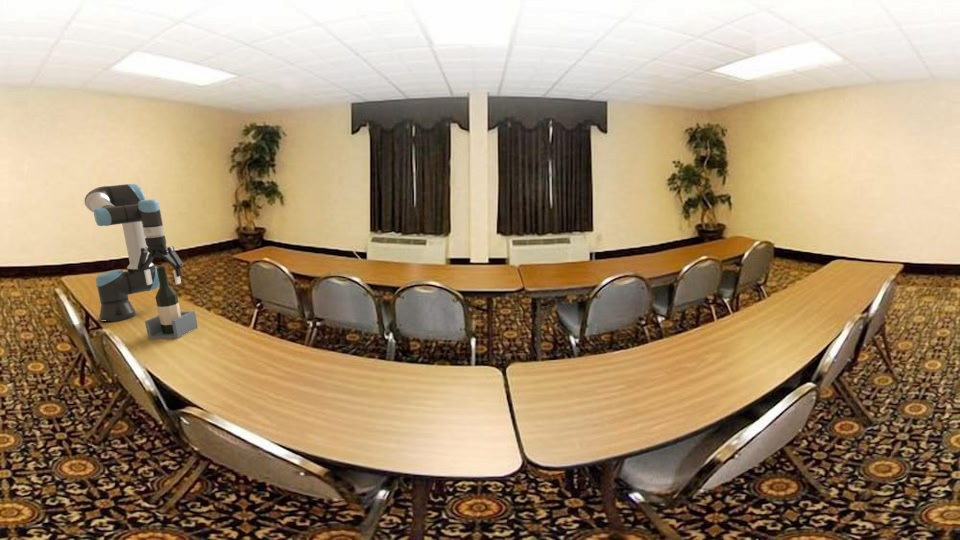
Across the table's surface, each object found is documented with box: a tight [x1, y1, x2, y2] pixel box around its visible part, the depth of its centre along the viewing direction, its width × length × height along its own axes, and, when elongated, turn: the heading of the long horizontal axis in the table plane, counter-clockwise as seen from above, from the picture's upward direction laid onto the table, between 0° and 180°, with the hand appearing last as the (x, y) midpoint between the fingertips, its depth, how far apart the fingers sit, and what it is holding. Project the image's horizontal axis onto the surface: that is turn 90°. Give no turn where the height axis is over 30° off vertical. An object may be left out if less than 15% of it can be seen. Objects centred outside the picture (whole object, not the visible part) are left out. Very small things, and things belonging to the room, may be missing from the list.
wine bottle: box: [155, 264, 181, 334], centre depth 241 cm, size 8×8×30 cm
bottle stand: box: [144, 310, 199, 340], centre depth 244 cm, size 14×14×8 cm
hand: (164, 284), depth 240 cm, fingers open, 13 cm apart
